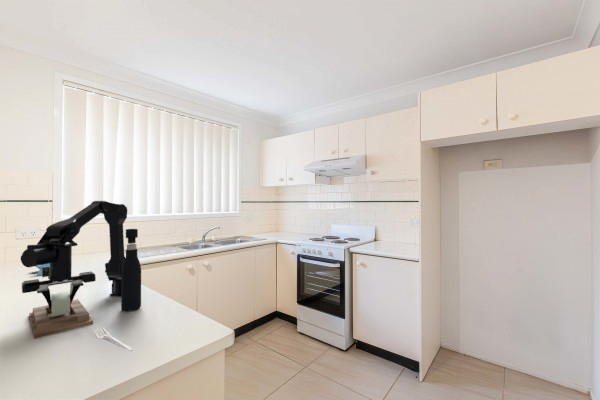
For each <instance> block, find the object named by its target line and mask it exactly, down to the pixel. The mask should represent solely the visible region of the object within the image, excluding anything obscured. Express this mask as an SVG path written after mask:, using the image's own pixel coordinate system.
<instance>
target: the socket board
mask: <svg viewBox="0 0 600 400" xmlns="http://www.w3.org/2000/svg"><path fill="white" fill-rule="evenodd" d="M28 314H29V320H30V326H31V329H32V335H33V339H39V338H43V337H47V336H51V335H55V334H60V333H62V332H66V331H70V330H75V329H79V328H84V327H86V326H90V325H94V320H93V319H92V317H91V315H90V313H89V311H88V310H87V309H86V308H85V306H84V305H83V304H82V302H81V301H80V299H73V301H72V303H71V305H70V313H67V314H62V315H57V316H52V311H51V309H50V308H49V305H48V304H47V305H41V306H38V307H33V308H32V312H29V313H28Z"/></svg>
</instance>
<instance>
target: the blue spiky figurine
mask: <svg viewBox="0 0 600 400" xmlns="http://www.w3.org/2000/svg"><path fill="white" fill-rule="evenodd" d="M34 267H36V268H37V269H38V272H37V273H38V276H42V268H43V267H49V269H50V263H48V264H43V265H39V266H34Z"/></svg>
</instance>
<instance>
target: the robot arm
mask: <svg viewBox="0 0 600 400" xmlns="http://www.w3.org/2000/svg"><path fill="white" fill-rule="evenodd" d="M100 214H102V215H103V219H104V220H105V221H106V223H107V224H108V226H109V228H108V229H109V251H110V253H109V254H110V259H109V260H108V262H106V263H105V264H104V267H105V268H104V269H105V270H104V273H106V274H105V275H106V277H107V279H108V281H110V282H111V281H112V283H111V292H110V293H109V296H116V297H117V296H118V297H119V296H121V274H122V267H123V263H124V260H125V258H126V255H125V244H124V240H125V239H124V223H125V222H126V220H127V218H128V206H126V205H125V204H123V203H114V202H109V201H106V200H94V201H92V202H91V203H90V204H89V205H88V206H85V207H83V209H81V210H80V211H78V212H76V214H74V215H72V216H71V217H69V218H67V219H64V220H61V221H57V222H54V223H52V224H50V225H48V226H47V227H46V229H45V232H44V234H43V235H42V236H41V238H40V239H39V241H38V242H37V244H28V245H27V246H26V249H25V250H24V251H23V252H22V253H21V255H20V261H21V262H20V263H21V264H22V265H23V266H24V267H25V268H34V267H35V266H39V265H43V264H48V263H50V269H49V267H43V268H42V275H41V277H42V278H47V277H48V280H42V281H40V279H38V278H37V279H29V280H24V281H23V282H22V283H21V293H22V294H26V293H33V292H36V293H37V294H42V295H43V297H44V299H45V300H46V303H47V305H49V308H50V309H52V303H51V291H50V287H51V286H56V285H62V284H63V285H64V284H68V283H69V284H70V289H69V297H70V305H71V303H72V301H73V300H74V298H75V296H76V294H77V292H78V290H79V289H80V287H83V286H84V283H92V282H96V274H95V273H94V272H92V271H85V272H84V271H83V272H79V275H76V276H75V275H74V276H73V275H72V266H73V265H72V262H73V261H72V260H73V259H72V255H73V254H72V253H73V252H72V251H73V249H72V248H73V247H77V246H78V242H75V241H74V240H73V239H75V238H76V237H77V235H78V234H80V230H81V228H82V227H83V226H85V225H87V224H88V223H89V222H91V221H92V220H93V219H95V217H98V216H99V215H100Z"/></svg>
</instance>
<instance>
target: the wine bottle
mask: <svg viewBox="0 0 600 400" xmlns="http://www.w3.org/2000/svg"><path fill="white" fill-rule="evenodd" d="M138 230H139V229H138V228H126V229H125V239H127V245H126V249H125V260H124V263H123V267H122V274H121V297H120V298H121V300H120V304H121V305H120V307H121V308H120V309H121V312H123V313H124V312H132V311H133V312H134V311H137V310H139V309H141V308H142V267H141V263H140V259H139V257H138V249H137V246H138V245H137V243H136V241H137V240H136V238H138ZM140 307H141V308H140Z"/></svg>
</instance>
